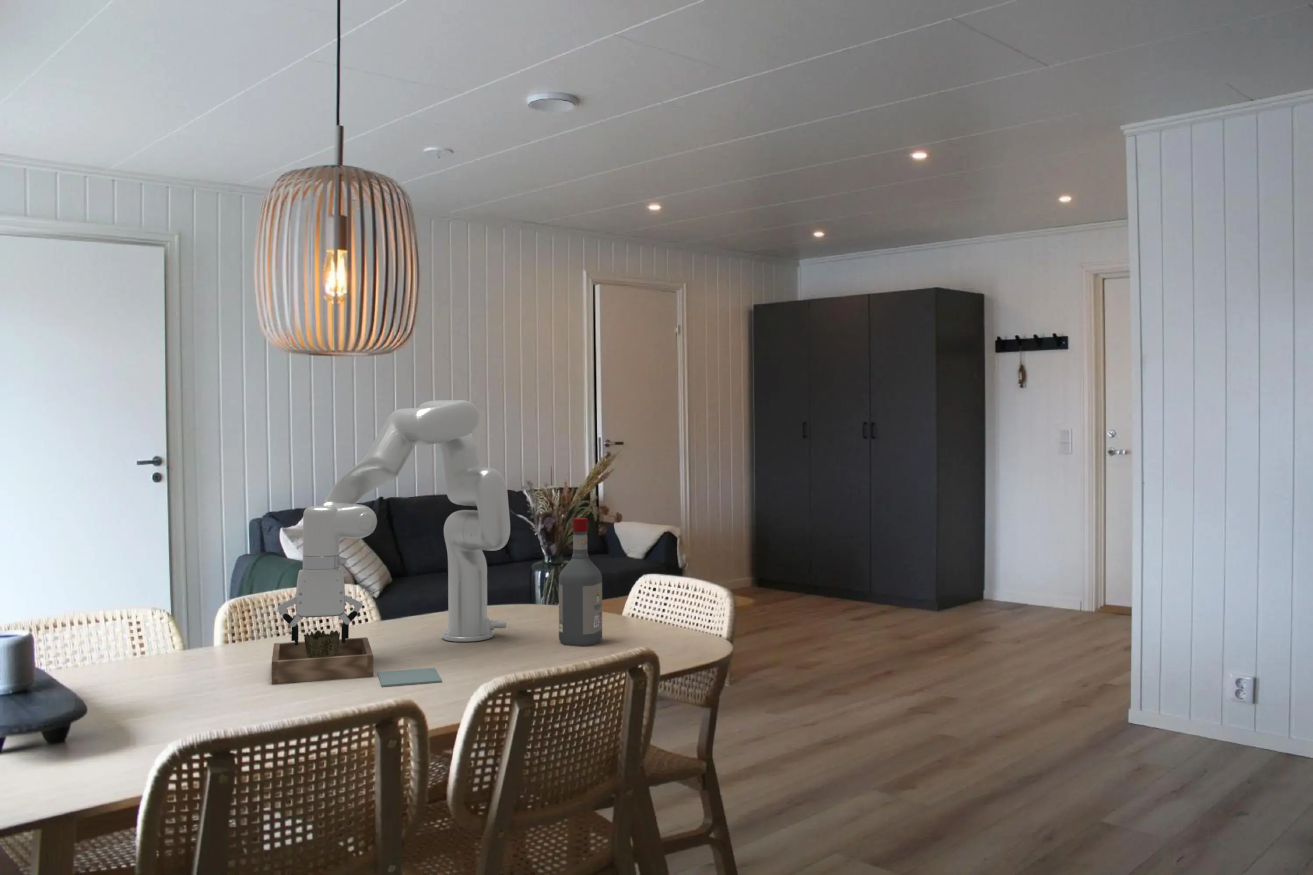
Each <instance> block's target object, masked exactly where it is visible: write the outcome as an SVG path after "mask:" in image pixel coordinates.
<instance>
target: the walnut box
mask: <svg viewBox="0 0 1313 875" xmlns="http://www.w3.org/2000/svg"><path fill="white" fill-rule="evenodd" d="M373 653H374V652H373V650H372V648H371V644H370V641H369V638H368V637H349V638H346V639H345V643H342V641H341V638H339V647H338V653H337V656H335V657H320V658H308V657H307V654H306V648H305V640H304V641H303V640H302V641H298V645H296V646H295V641H289V642H286V641H285V642H273V648H272V656H271V685H278V684H292V683H303V682H317V681H331V680H344V679H358V678H369V677H370V678H371V677H374V654H373Z"/></svg>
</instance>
